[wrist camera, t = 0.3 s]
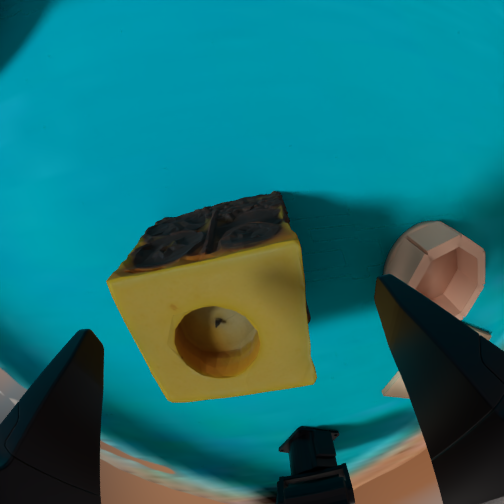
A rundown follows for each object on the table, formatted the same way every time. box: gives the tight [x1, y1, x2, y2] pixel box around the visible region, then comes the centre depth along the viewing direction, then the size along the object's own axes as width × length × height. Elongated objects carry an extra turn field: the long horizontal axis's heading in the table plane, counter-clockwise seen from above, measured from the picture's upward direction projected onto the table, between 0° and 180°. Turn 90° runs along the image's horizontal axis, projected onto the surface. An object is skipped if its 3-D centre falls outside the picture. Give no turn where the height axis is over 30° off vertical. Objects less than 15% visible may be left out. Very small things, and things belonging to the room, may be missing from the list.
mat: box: [382, 325, 491, 398], centre depth 30 cm, size 12×12×1 cm
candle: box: [106, 191, 317, 402], centre depth 20 cm, size 10×10×10 cm
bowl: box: [383, 221, 485, 320], centre depth 23 cm, size 9×9×4 cm
